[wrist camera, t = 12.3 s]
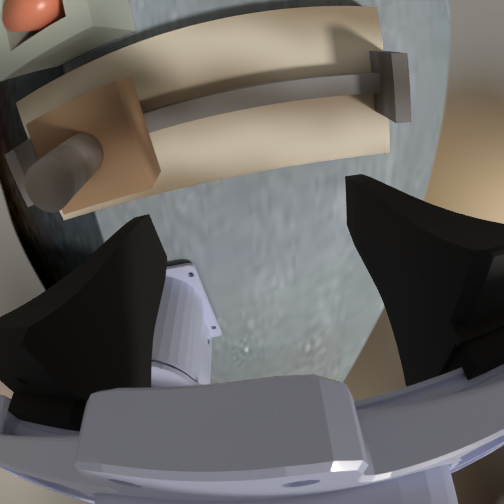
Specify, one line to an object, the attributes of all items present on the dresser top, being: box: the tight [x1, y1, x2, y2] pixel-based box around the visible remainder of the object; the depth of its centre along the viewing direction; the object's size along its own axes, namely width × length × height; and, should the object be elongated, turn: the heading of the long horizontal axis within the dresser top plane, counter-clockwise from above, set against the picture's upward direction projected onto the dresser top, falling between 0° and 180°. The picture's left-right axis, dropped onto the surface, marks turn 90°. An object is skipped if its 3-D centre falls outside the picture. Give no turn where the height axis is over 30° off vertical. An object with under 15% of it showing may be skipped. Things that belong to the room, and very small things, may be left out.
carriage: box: [25, 76, 161, 215], centre depth 13 cm, size 6×6×6 cm
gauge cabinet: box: [0, 0, 136, 81], centre depth 10 cm, size 6×6×6 cm
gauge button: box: [3, 0, 66, 32], centre depth 8 cm, size 3×3×3 cm
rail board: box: [5, 6, 411, 220], centre depth 16 cm, size 10×24×4 cm, turn 101°
